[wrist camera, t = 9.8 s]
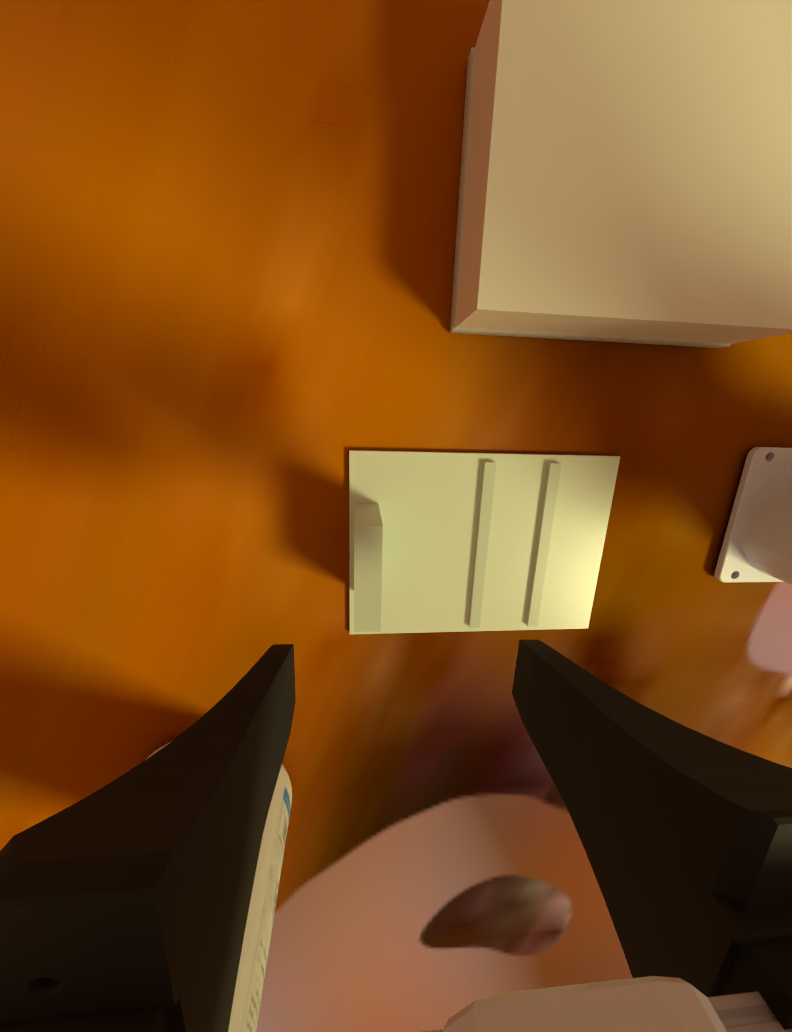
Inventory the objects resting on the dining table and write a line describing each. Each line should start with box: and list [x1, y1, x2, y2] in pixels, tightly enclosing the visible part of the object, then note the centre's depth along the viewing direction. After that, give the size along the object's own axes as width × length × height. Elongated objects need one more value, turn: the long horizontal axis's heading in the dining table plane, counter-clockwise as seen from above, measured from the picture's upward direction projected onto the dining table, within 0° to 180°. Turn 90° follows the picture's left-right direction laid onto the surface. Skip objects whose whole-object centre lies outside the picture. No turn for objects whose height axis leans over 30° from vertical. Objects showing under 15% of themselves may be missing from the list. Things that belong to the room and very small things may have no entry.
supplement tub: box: [147, 742, 292, 1032], centre depth 17 cm, size 10×10×15 cm
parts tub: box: [450, 0, 792, 348], centre depth 16 cm, size 14×10×4 cm
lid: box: [349, 450, 620, 634], centre depth 19 cm, size 14×10×5 cm
